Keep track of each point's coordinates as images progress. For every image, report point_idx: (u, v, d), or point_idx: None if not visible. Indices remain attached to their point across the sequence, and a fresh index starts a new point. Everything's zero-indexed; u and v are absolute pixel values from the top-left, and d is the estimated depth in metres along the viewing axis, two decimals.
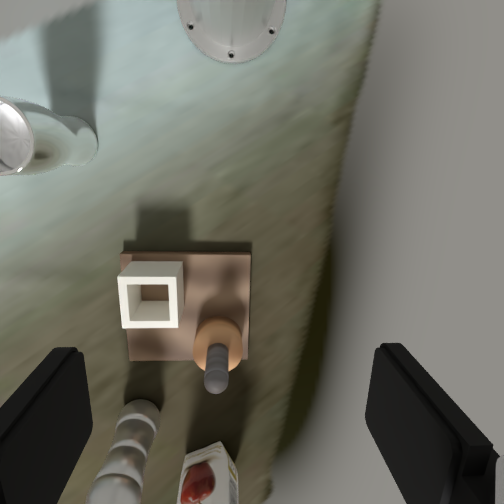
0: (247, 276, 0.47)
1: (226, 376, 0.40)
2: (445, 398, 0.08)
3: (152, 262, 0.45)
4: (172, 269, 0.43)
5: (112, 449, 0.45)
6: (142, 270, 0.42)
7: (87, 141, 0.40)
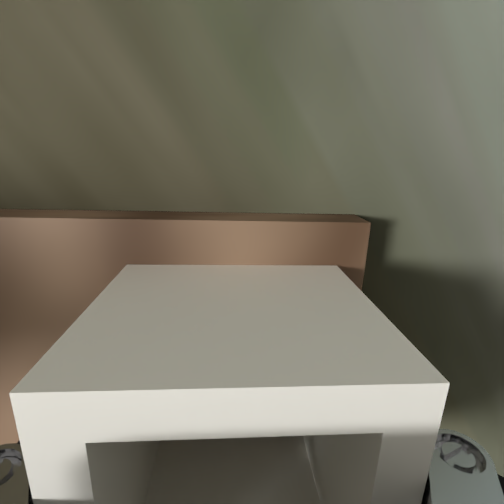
0: None
1: None
2: None
3: None
4: None
5: None
6: None
7: None
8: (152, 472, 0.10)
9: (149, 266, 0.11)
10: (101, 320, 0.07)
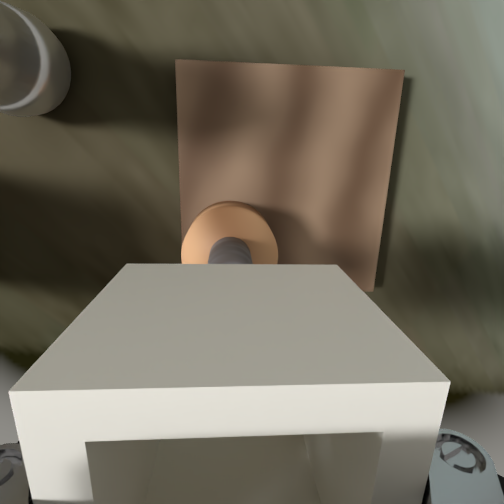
0: None
1: None
2: None
3: None
4: None
5: None
6: None
7: None
8: (152, 471, 0.10)
9: (149, 265, 0.11)
10: (101, 319, 0.07)
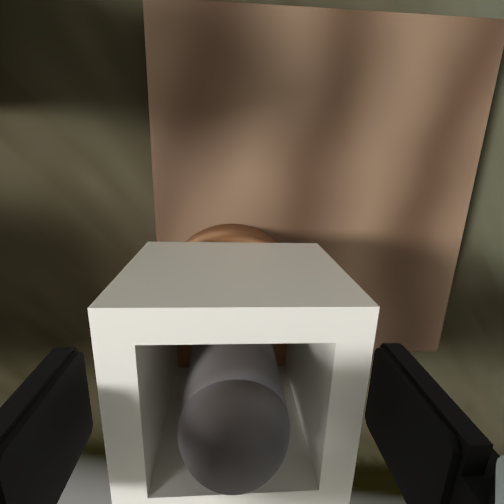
0: None
1: None
2: (445, 398, 0.08)
3: None
4: None
5: None
6: None
7: None
8: (169, 405, 0.13)
9: (166, 242, 0.13)
10: (137, 274, 0.10)
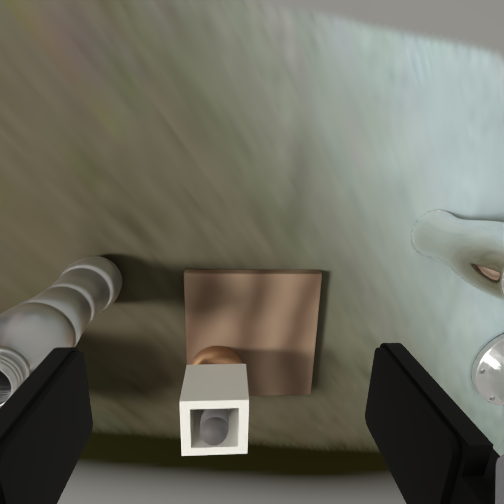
0: (288, 392, 0.46)
1: None
2: (445, 398, 0.08)
3: None
4: None
5: (83, 295, 0.31)
6: None
7: None
8: (194, 421, 0.38)
9: (193, 365, 0.39)
10: (187, 386, 0.35)
